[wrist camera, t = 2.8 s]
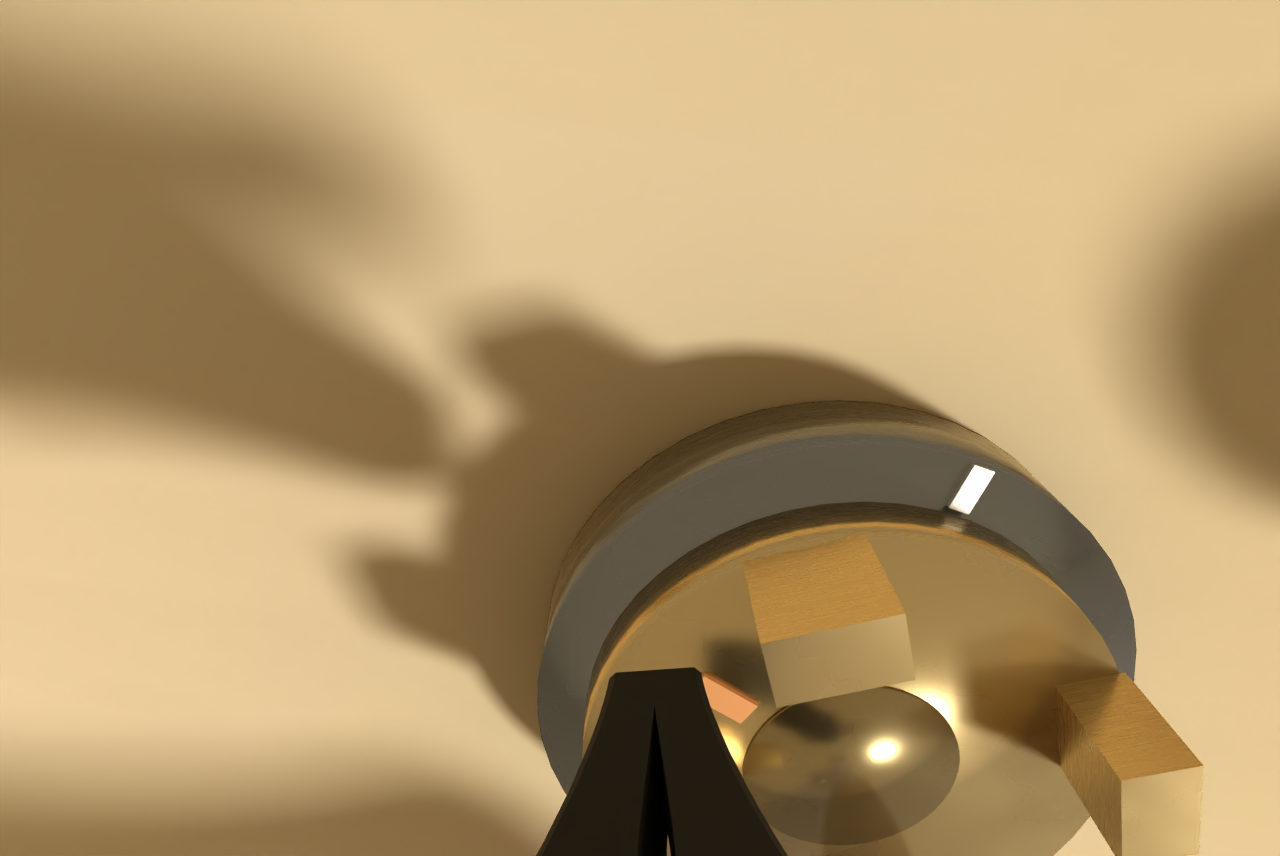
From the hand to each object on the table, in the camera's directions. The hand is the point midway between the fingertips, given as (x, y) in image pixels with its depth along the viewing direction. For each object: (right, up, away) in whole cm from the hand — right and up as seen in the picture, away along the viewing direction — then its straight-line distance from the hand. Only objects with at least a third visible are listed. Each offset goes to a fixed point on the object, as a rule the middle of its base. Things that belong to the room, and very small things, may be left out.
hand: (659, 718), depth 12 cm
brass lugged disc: (+4, -1, +3) cm, 5 cm away
